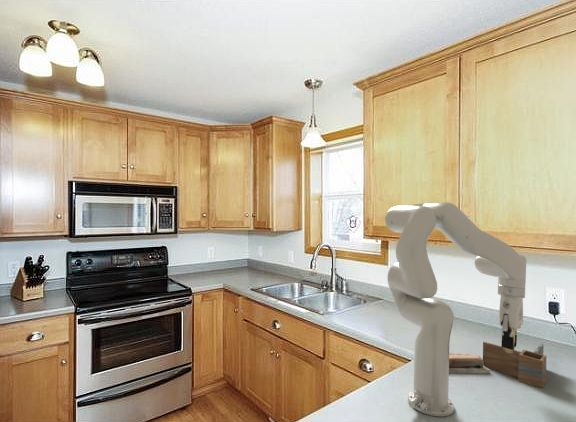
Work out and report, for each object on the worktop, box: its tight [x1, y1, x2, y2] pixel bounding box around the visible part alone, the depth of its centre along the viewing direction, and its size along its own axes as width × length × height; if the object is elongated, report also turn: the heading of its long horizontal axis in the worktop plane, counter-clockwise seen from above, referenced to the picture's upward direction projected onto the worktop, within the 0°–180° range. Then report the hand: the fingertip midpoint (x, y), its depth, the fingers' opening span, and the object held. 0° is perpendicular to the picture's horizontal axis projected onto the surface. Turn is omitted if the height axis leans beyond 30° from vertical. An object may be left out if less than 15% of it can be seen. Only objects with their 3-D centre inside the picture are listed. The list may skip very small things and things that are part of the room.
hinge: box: [482, 341, 548, 389], centre depth 124 cm, size 19×19×9 cm
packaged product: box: [449, 352, 491, 374], centre depth 125 cm, size 18×5×10 cm
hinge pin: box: [501, 321, 522, 353], centre depth 111 cm, size 6×6×10 cm
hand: (508, 346), depth 111 cm, fingers closed on hinge pin, 3 cm apart
